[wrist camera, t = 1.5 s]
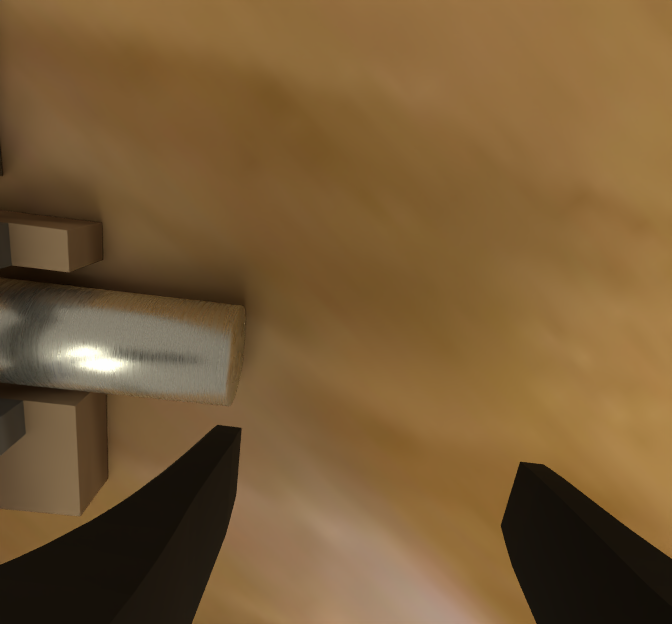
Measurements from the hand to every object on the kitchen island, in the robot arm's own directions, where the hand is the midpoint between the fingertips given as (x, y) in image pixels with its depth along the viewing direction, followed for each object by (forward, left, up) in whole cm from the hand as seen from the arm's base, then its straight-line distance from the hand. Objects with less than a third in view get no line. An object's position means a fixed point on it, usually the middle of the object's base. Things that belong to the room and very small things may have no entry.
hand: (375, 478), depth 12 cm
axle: (-8, +8, -9) cm, 14 cm away
